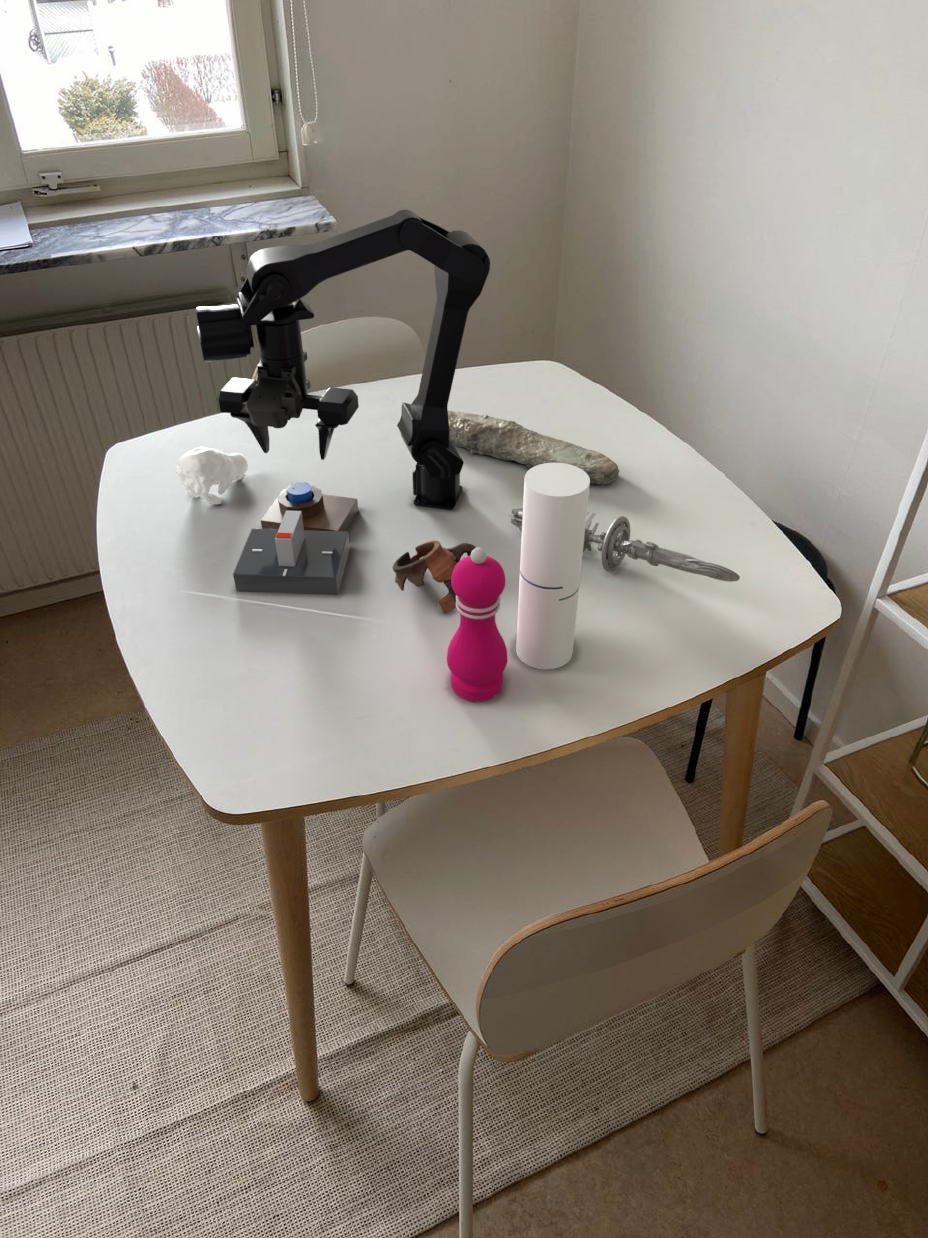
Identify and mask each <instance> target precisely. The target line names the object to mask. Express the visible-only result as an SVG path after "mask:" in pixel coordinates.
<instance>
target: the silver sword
mask: <svg viewBox="0 0 928 1238" xmlns="http://www.w3.org/2000/svg"><path fill="white" fill-rule="evenodd" d="M511 514H512V515H509V517H510V518H511V519H510V523H511V524H512V525H513V526H515V527H516V528H517V529H518V530H519V531H520V532H522V519H523V506H522V507H521V508H520V507H519V508H513V509H511ZM589 514H590V511H588V510H587V515H586V517H587V516H588V515H589ZM596 515H597V513H596V512H592V513H591V514H590V516H589V517H587V518H586V525H585V535H584V545H583V553H584V552H585V551H586V550H587V551H588V552H592V550H593V549H592V542H593V543H595V544H597V550H598V551H600V552H601V565H602V568H603V569H604V570H605V571H606V572H608V573H611V572H614V571H616V570H617V569H618V568H619V566H620V565H621V564H622V562H623V560H624V558H625V557H626V555H627V557H628V558H631V559H633V560H635V561H636V560H638V559H640V560H644V561H646V562H647V563H648V564H649V565H650V566H654V567H658V566H659V565H661V566H666V567H669V568H671V569H675V570H679V571H683V572H686V573H691V574H694V575H700V576H703V577H704V576H705V577H708V578H710V579H713V580H716V581H717V580H718V581H722V582H738V581H740V579H741V577H740V575H739V574H738V573H737V572H735V570H734V571H733V570H732V569H731V568H728V567H726V566H723V565H720V564H717V563H712V562H709V561H708V562H707V561H705V560H701V559H699V558H697V557H694V556H692V555H689V554H685V553H681V552H678V551H675V550H671V549H667V548H663V547H659V545H658V544H657V543H654V542H652V541H645V543H644V542H643V541H642V540H640V539H635V540H631V523H630V521H629V518H627V517H626V516H623V515H621V516H618V517H617V518H615V519H614V520H613V521H612V523H611V524H610V526H609V528H608V529H607V531H606V532H604V531H601V532H600V533H599V534H596V532H597V529H598V527H599V525H600V522H595V523H594V525H592V522H593V520H594V518H595V517H596ZM591 526H592V528H591V529H590V527H591Z"/></svg>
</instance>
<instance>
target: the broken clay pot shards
mask: <svg viewBox="0 0 928 1238" xmlns="http://www.w3.org/2000/svg"><path fill="white" fill-rule="evenodd" d="M475 548H477V547H476V546H475V545H474V544H472V543H468V542H462V543H459V544H456V545H455V546H453V547H448V548H446V547H443V546H442V543H441V542H440V540H430V541H427V542H423V543H421V544H419V545H417V546H415V547H414V549H415V552H416V554H414V555H413V556H412V557H411V555H410V552H409V551H406V552H405V553H403V554H402V555H401V556H399V557H398V558H397V559H396V560H395V562H393V564H392V570H393V572H394V573H395V576H394V582H395V583H396V584H397V585H398V588H399V589H400V590H401V591H402V592H403V591H405V584H406V581H408V582H409V583H412V584H413V585H414V586H415V587H420V588H421V587H424V586H425V581H424V579H425V576H426V575H425V574H426V572H427V569H428V571H429V573H430V574H431V577H432V579H433V580H434V581H435V582H436V583H439V584H441V583H442V584H444V586H445V587H446V588H447V590H448V593H447V594H445V595H444V596H443V597H441V598H439V599H438V600H437V604H438V605H439V607H440V609H441V611H442V613H443V614H448V613H449V612H451V611H453V610H455V609H457V608H456V594H455V593H454V590H453V588H452V584H451V577H452V572H453V570H454V568H455V566H456V564H457V563H458V562H459V561H460V560H462V557H463V556H464V554H467V556H470V555H471V552H472V550H474V549H475Z"/></svg>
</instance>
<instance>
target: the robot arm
mask: <svg viewBox="0 0 928 1238" xmlns="http://www.w3.org/2000/svg"><path fill="white" fill-rule="evenodd" d="M407 251H410V252H412V253H414V254H416V255H418V256H420V257H421V258H423V259H424V260H426V261H427V262H428V263H431V264H432V265H433V266H434V283H435V293H436V303H435V308H434V313H433V318H432V323H431V326H430V327H431V328H430V333H429V338H428V342H427V348H426V353H425V357H424V363H423V368H422V372H421V373H422V374H421V376H420V377H421V378H420V383H419V389H418V393H417V395H416V397H414V399H413V401H412V402H411V403H408V402H402V403H401V413H400V414H401V415H400V419H399V421H398V423H397V424H396V427H397V428H398V430H399V432H400V436H401V438H402V440H403V443H404V444H405V447H406V448H407V451H408V452H409V454H410V456H411V457H412V459H413V460H414V461H415V462H416V463H415V467H414V469H413V471H412V494H413V496H415V497H414V499H413V506H417V507H426V508H434V509H442V510H449V511H451V510H452V511H453V510H455V508H456V507H457V503H458V501H459V499H460V497H461V494H462V492H463V490H464V489H463V486H462V485H461V472H462V469H463V466H464V464H465V462H464V460H463V458H462V456H461V455H460V453H459V451H458V450H457V448H456V447H455V446H456V445H453V443H452V441H451V440H450V438H449V432H450V429H449V419H448V411H449V410H448V407H449V406H448V405H449V400H450V396H451V392H452V386H453V383H454V377H455V373H456V369H457V364H458V360H459V355H460V350H461V348H462V347H461V346H462V342H463V337H464V333H465V328H466V324H467V320H468V314H469V313H470V310H471V308H472V307H473V305H474V304H475V303H476V301H477V300H478V298H479V297H480V296H481V295H482V292H483V289H484V287H485V284H486V283H487V282H486V281H487V279H488V277H489V275H490V272H491V259H490V257H489V255H488V253H487V251H486V249H484V247H482V245H481V244H479V242H478V241H477V240H476V239H474V238H473V236H472V235H471V234H469V233H468V232H466V231H464V230H452V231H449V230H447V229H446V228H444V227H442V226H440V225H438V224H437V223H434V222H432V221H430V220H427V219H425V218H423V217H422V216H421V217H420V216H419V215H417V213H415V212H414V211H412V210H410V209H400V210H398V211H396V212H395V213H394V214H392V215H389V216H387V217H384V218H381V219H378V220H376V221H375V220H374V221H372V222H369V223H367V224H365V225H364V224H363V225H361V226H358V227H356V228H353V229H351V230H348V231H345V232H341V233H338V234H336V235H333V236H330V237H328V238H325V239H322V240H319V241H316V242H314V243H309V244H284V245H279V246H272V247H266V248H261V249H259V250H257V251H255V252H254V253H253V254H252V255H251V256H250V257H249V260H248V262H247V264H246V278H245V280H244V281H243V283H242V285H241V287H240V288H239V290H238V292H237V294H236V296H235V302H236V304H229V305H218V306H207V305H206V306H205V305H204V306H203V305H202V306H196V308H195V315H196V319H197V327H196V329H197V335H198V340H199V345H200V350H201V355H202V359H203V363H212V362H220V361H227V360H229V361H230V360H237V359H238V360H239V359H245V358H246V359H247V358H248V355H249V356H250V355H252V353H251V350H252V349H255V343H254V336H253V330H252V326H255V330H256V338H257V344H258V352H259V358H260V363H259V364H257V366H256V367H257V371H256V373H257V379H253V378H244V377H232V378H231V379H230V380H229V381H228V382H227V383H226V384H225V385H224V386H223V387H222V388H221V389H220V390H219V392H218V393H217V397H216V402H217V403H216V404H217V407H218V408H217V409H218V410H219V412H220V413H224V414H225V413H227V414H229V415H230V416H231V417H232V418H233V419H238V420H240V421H242V422H244V423H245V424H246V426H247V427H248V428H249V430H250V431H251V433H252V435H253V436H254V438H255V440H256V442H257V443H258V445H259V447H260V448H261V450H262V452H263V453H264V454H268V453H269V451H270V431H269V428H274V429H282V428H284V427H286V426H287V424H288V421H290V420H291V419H299V418H300V417H301V415H302V412H303V409H304V410H311V411H312V410H314V411H317V418H318V420H317V421H316V423H315V424H314V425H315V427H316V428H317V430H318V449H319V456H320V460H322V461H324V460H325V459H326V457H327V456H328V455H327V454H328V451H329V448H330V444H331V442H332V437H333V434H334V431H335V429H337V428H338V427H339V426H345V425H348V424H349V422H350V421H351V419H352V418H353V416H354V415H355V414H356V412H357V411H358V409H359V407H360V406H359V405H360V404H359V396H358V394H357V393H356V392H355V390H354V389H351V388H342V387H331V386H330V387H328V389H327V390H326V391H325V393H324V394H323V395H318V394H317V395H315V394H309V390H310V388H311V379H307V373H306V361H308V352H307V351H304V348H303V338H302V329H301V322H300V321H303V320H312V319H314V318H315V313H314V311H313V309H312V306H311V304H309V303H307V302H306V301H304V300H303V299H302V298H304V297H305V296H307V295H308V294H309V293H311V292H312V291H313V290H314V288H316V287H317V286H318V285H319V284H321V283H323V282H324V281H326V280H329V279H331V278H334V277H337V276H340V275H343V274H345V273H347V272H351V271H353V270H357V269H359V268H361V267H365V266H367V265H370V264H374V263H376V262H378V261H382V260H384V259H387V258H389V257H392V256H395V255H398V254H401V253H403V252H407Z"/></svg>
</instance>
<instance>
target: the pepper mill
mask: <svg viewBox="0 0 928 1238" xmlns="http://www.w3.org/2000/svg"><path fill="white" fill-rule="evenodd" d="M451 584H452V588H453V590H454V593H455V594H456V608H455V609H456V610H457V612H458V613H459V616H460V617H459V620H460V621H459V625H458V627H457V629H456V631H455V633H454V634H453V635H452V637H451V639H450V641H449V644H448V647H447V651H446V652H447V653H446V664H447V667H448V669H449V670H450V686H451V689H452V691H453V692H454V694H456V695H457V696H458V697H459V698H461V699H463V700H466V701H469V702H478V703H479V702H485V701H489V700H491V699H493V698H494V697H496V696H498V695H499V693H500V692H501V690H502V688H503V679H504V678H503V677H504V673H503V672H504V671H505V669H506V668H507V665H508V658H509V657H508V649H507V646H506V643H505V640H504V638H503V636H502V635H501V633H500V630H499V628H498V625H497V622H496V614H497V613H498V612H499V611H500V608H501V595H502V594H503V591H504V590H505V587H506V574H505V570H504V568H503V566H502V565H501V563H500V562H499V561H498V560H497V559H495V557H492V556H489V555H488V553H487V551H486V550H485V549H484V548H483V547H476V548H475V549H474V550H472V552H471V555H470V556H468V555H467V556H465V557H463V558H461V559H460V561H459V562H458V563H457V564H456V566H455V568H454V570H453V572H452V577H451Z"/></svg>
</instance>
